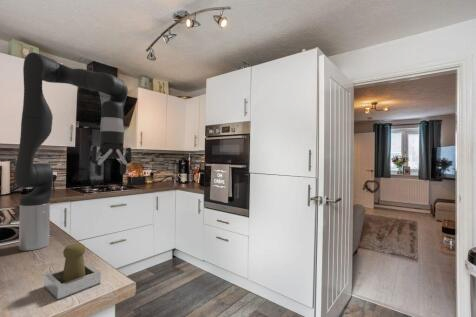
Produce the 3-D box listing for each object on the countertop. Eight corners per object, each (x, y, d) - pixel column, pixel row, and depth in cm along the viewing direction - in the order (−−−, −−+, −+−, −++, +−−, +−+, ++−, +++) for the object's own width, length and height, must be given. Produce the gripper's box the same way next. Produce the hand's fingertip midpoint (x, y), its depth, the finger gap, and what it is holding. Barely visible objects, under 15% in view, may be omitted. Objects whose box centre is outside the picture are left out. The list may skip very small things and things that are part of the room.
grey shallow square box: (44, 286, 67) (44, 274, 67) (85, 272, 76) (85, 262, 76) (57, 300, 61) (57, 287, 61) (100, 283, 70) (100, 272, 70)
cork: (81, 275, 73) (82, 239, 73) (89, 282, 70) (90, 244, 69) (57, 283, 69) (58, 245, 68) (65, 291, 65) (65, 250, 65)
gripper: (125, 133, 96) (124, 173, 96) (86, 129, 85) (85, 175, 85) (135, 132, 92) (134, 174, 92) (96, 128, 80) (95, 176, 80)
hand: (111, 175), depth 88 cm, fingers open, 8 cm apart
